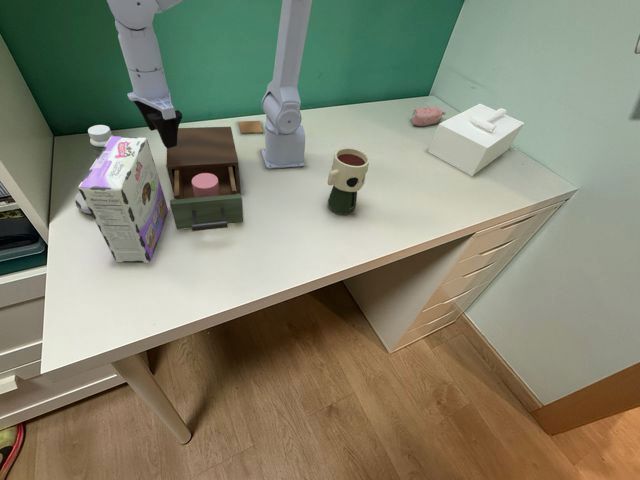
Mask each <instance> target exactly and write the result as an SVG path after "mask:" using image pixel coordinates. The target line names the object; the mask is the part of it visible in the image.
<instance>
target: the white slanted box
mask: <svg viewBox="0 0 640 480" xmlns="http://www.w3.org/2000/svg"><path fill="white" fill-rule="evenodd" d="M524 125H525V122H523V121H522V120H519V119H516V118H514V117H512V116H509V115H507V110H506V109H505V108H503V107H500V108H498V109H494V108H492V107H489V106H487V105H485V104H482V103H478V104H475V105H474V106H472V107H470V108H467V109H466V110H464V111H462V112H460V113H458V114H456V115H454V116H452V117H450V118H448V119H446V120H444V121H442V122H439V123H438V125H437V128H436V130H435V132H434V135H433V138H432V140H431V142H430V145H429V147H428V150H427V152H428V153H429V154H431V155H432V156H435V157H437V158H438V159H440V160H442V161H444V162H445V163H447V164H449V165H451V166H453V167H454V168H456V169H458V170H460V171H462V172H464V173H465V174H467V175H469V176H471V177H473V176H474V175H476V174H477V173H478V172H480V171H481V170H482V169H484V168H485V167H486V166H488V165H489V164H490V163H493V161H495V160H496V159H497V158H499V157H500V156H501V155H503V154H504V153H506V152H507V151H508V150H509V149H510V148H511V146H512V144H513V143H514V141H515V140H516V138H517V136H518V135H519V133H520V131H521V129H522V128H523V127H524Z"/></svg>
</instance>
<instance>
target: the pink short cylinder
mask: <svg viewBox="0 0 640 480" xmlns="http://www.w3.org/2000/svg"><path fill="white" fill-rule="evenodd" d="M192 186H193V191H194V196H195V198H198V197H210V196H220V191H219V183H218V178H217V177H216V176H215V175H213V174H210V173H202V174H198V175H196V176H195V177H193V179H192Z"/></svg>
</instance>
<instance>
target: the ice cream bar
mask: <svg viewBox="0 0 640 480" xmlns="http://www.w3.org/2000/svg"><path fill="white" fill-rule="evenodd" d="M444 115H446V112H445V111H443V110H442V109H441V108H439V107H438V106H426V107H417V108H414V110H413V112H412V116H411V123H412V124H413V126H417V127H425V126H430V125H434V124H435V125H436V124H439V123H440V120H441V119H442V117H443V116H444Z"/></svg>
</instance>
